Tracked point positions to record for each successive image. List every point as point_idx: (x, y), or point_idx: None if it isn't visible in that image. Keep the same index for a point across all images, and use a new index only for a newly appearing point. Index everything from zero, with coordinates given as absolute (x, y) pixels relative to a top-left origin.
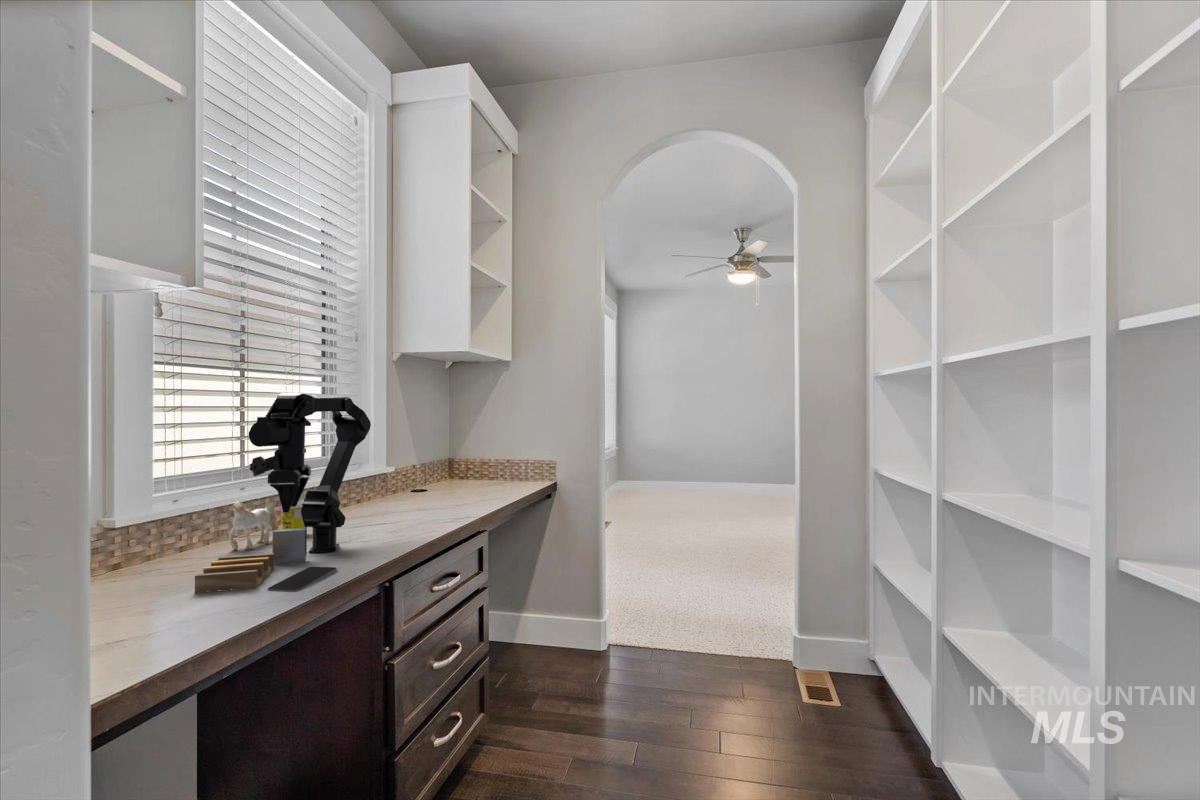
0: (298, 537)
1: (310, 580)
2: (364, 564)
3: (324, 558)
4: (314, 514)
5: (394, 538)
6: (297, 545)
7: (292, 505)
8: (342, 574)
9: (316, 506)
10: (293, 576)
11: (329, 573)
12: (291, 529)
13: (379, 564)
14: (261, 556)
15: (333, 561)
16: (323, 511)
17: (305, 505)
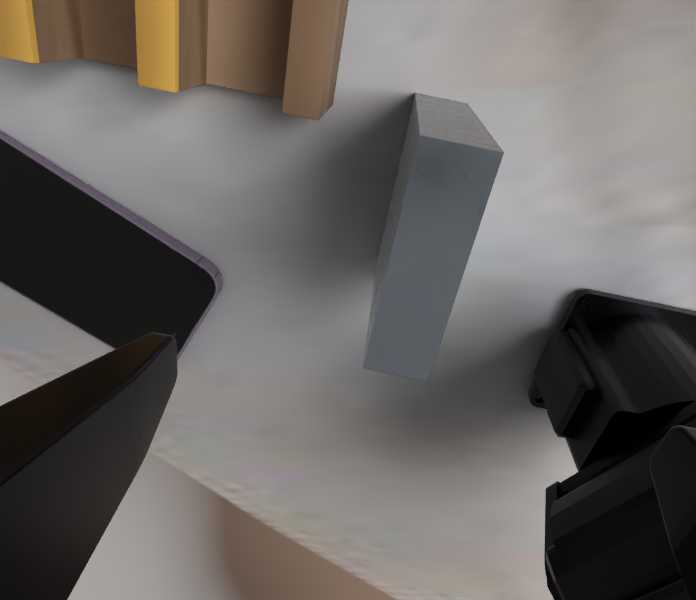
0: (376, 300)
1: (6, 268)
2: (234, 451)
3: None
4: (619, 499)
5: None
6: (379, 269)
7: (675, 442)
8: None
9: (658, 581)
10: (81, 205)
11: (103, 339)
12: (440, 286)
13: (215, 486)
14: (290, 32)
15: (337, 368)
16: (550, 569)
17: None
